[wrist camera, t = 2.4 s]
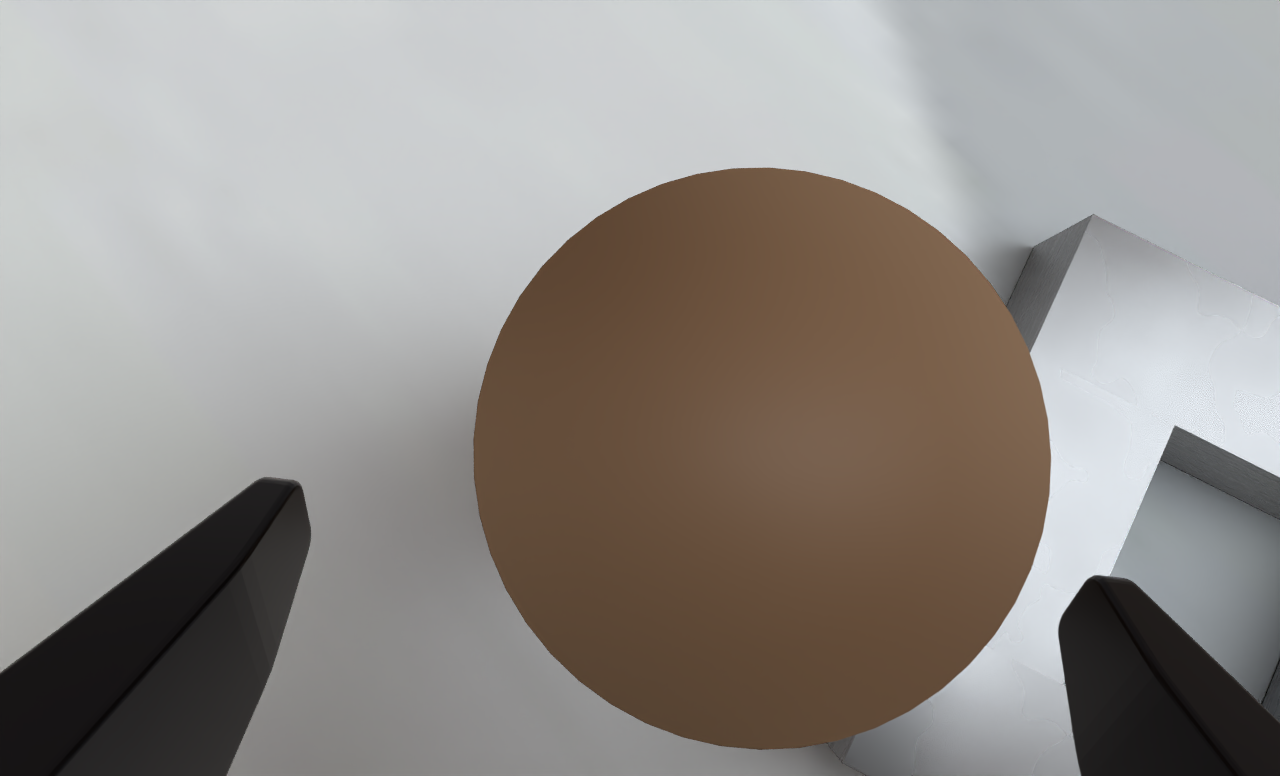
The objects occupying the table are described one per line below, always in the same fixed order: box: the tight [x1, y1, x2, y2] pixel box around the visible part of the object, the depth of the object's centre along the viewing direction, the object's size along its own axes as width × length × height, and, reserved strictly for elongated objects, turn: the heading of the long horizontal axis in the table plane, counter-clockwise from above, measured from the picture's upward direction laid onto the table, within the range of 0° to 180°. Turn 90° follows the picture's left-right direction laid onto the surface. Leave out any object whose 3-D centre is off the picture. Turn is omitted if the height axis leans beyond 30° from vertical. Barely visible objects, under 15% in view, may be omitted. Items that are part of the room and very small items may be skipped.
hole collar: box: [827, 214, 1280, 776], centre depth 18 cm, size 12×12×2 cm
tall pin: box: [474, 168, 1051, 750], centre depth 13 cm, size 4×4×14 cm
